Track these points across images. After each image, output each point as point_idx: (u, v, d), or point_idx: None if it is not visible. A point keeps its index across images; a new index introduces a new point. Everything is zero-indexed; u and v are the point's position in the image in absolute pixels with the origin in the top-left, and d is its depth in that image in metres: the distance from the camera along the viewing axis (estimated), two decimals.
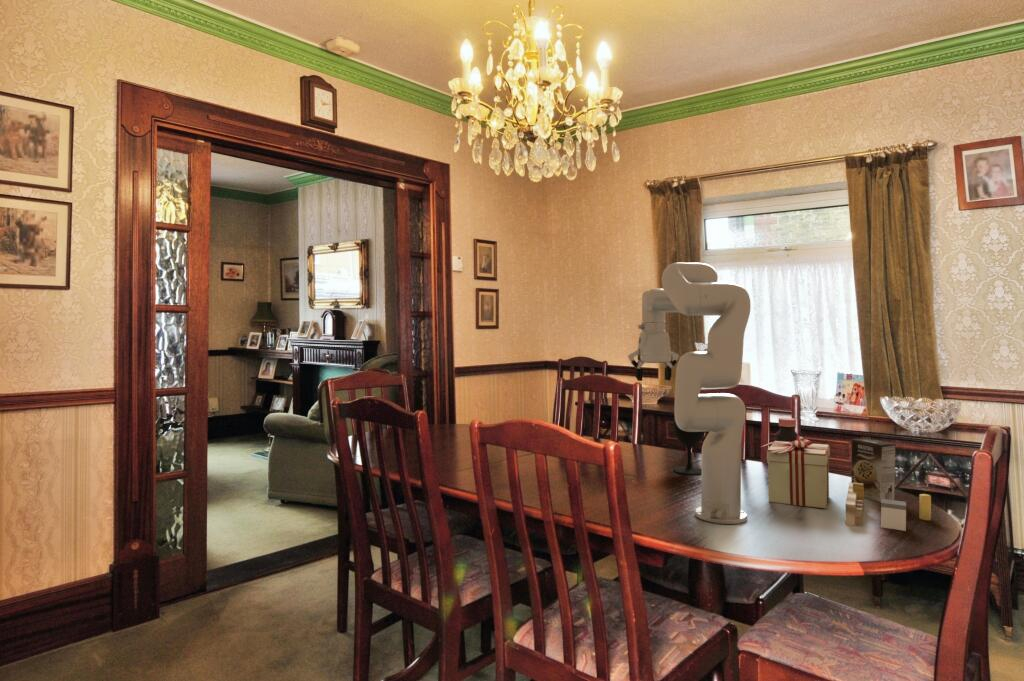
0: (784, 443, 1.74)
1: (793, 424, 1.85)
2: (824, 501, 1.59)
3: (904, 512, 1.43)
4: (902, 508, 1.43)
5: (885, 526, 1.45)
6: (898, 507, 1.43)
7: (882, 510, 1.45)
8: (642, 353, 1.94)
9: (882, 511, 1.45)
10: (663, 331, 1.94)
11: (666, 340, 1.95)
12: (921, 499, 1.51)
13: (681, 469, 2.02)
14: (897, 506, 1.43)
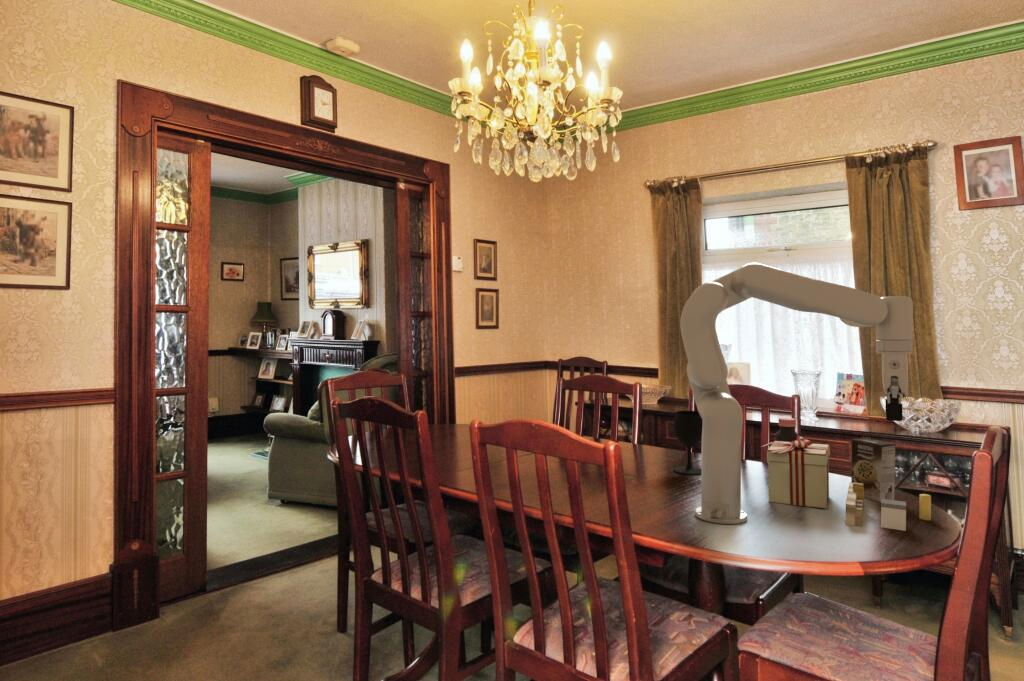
0: (784, 443, 1.74)
1: (793, 424, 1.85)
2: (824, 501, 1.59)
3: (904, 512, 1.43)
4: (902, 508, 1.43)
5: (885, 526, 1.45)
6: (898, 507, 1.43)
7: (882, 510, 1.45)
8: (906, 383, 1.40)
9: (882, 511, 1.45)
10: None
11: None
12: (921, 499, 1.51)
13: (681, 469, 2.02)
14: (897, 506, 1.43)
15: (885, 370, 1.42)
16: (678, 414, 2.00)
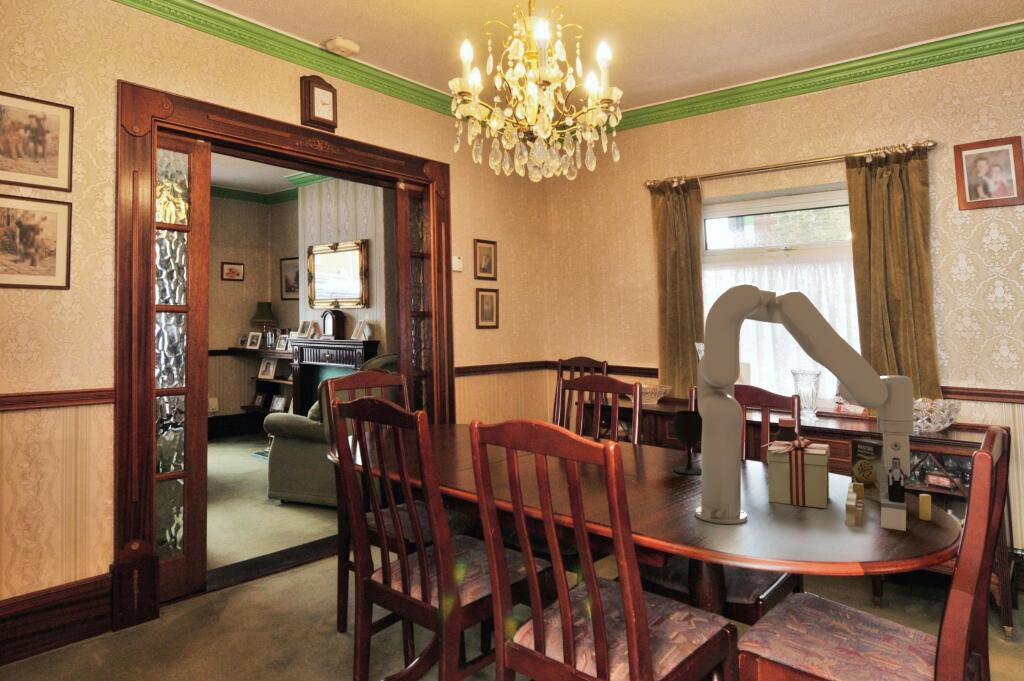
0: (784, 443, 1.74)
1: (793, 424, 1.85)
2: (824, 501, 1.59)
3: (904, 512, 1.43)
4: (902, 508, 1.43)
5: (885, 526, 1.45)
6: (898, 507, 1.43)
7: (882, 510, 1.45)
8: (908, 464, 1.40)
9: (882, 511, 1.45)
10: None
11: None
12: (921, 499, 1.51)
13: (681, 469, 2.02)
14: (897, 506, 1.43)
15: (886, 451, 1.42)
16: (678, 414, 2.00)
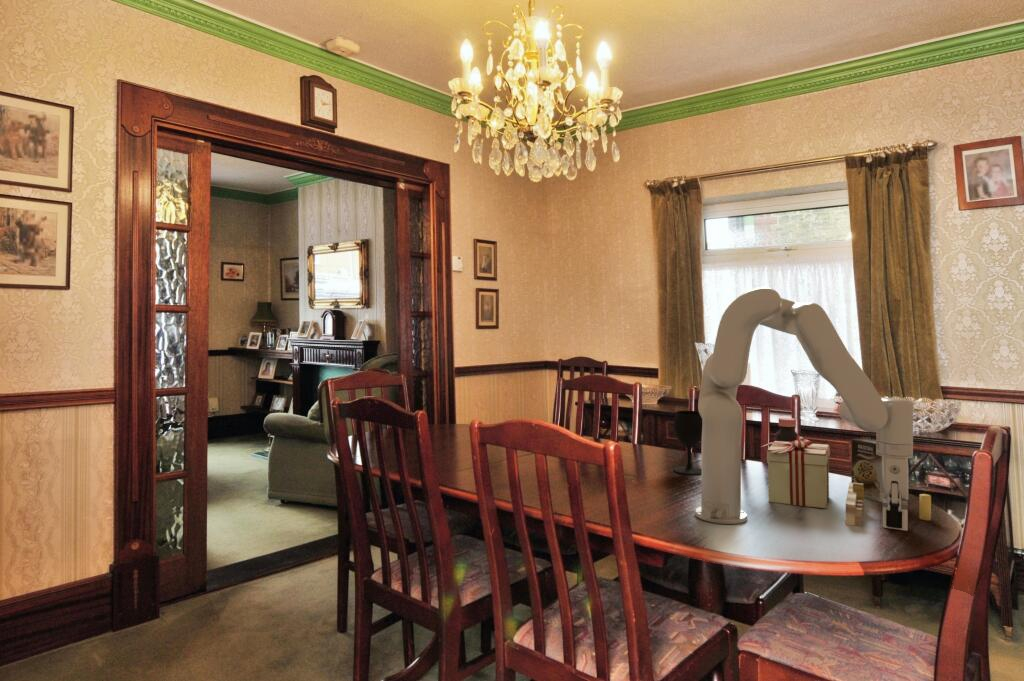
0: (784, 443, 1.74)
1: (793, 424, 1.85)
2: (824, 501, 1.59)
3: (906, 512, 1.43)
4: (904, 508, 1.43)
5: None
6: None
7: (884, 510, 1.45)
8: (906, 488, 1.40)
9: (884, 511, 1.45)
10: None
11: None
12: (921, 499, 1.51)
13: (681, 469, 2.02)
14: None
15: (885, 474, 1.42)
16: (678, 414, 2.00)
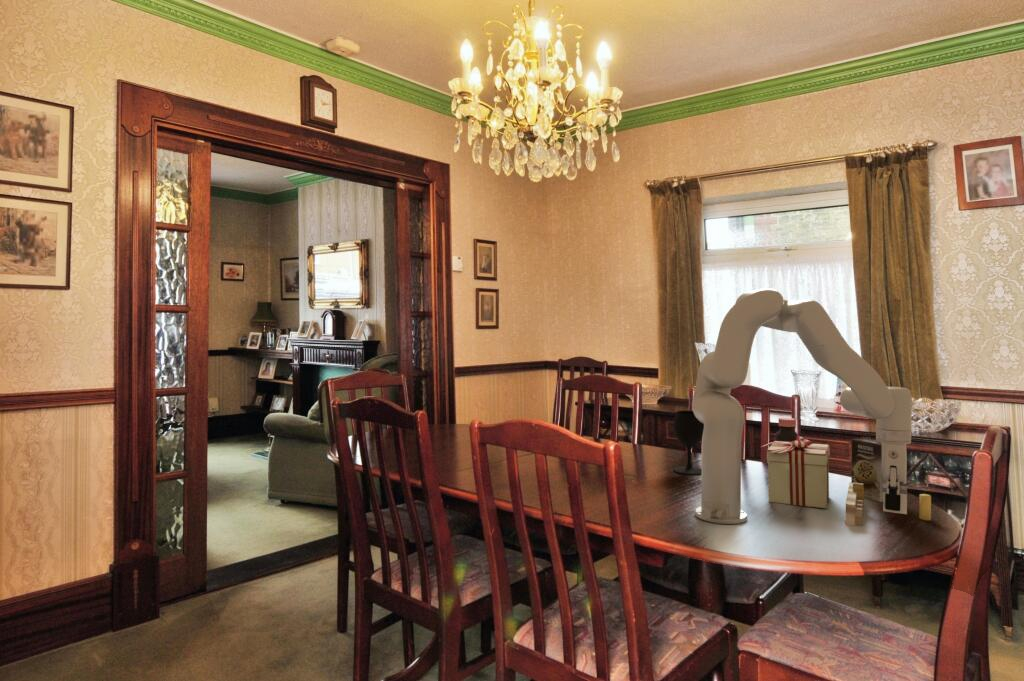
0: (784, 443, 1.74)
1: (793, 424, 1.85)
2: (824, 501, 1.59)
3: (905, 496, 1.49)
4: (903, 492, 1.49)
5: (887, 510, 1.51)
6: (899, 491, 1.50)
7: (884, 494, 1.51)
8: (904, 472, 1.47)
9: (884, 495, 1.51)
10: None
11: None
12: (921, 499, 1.51)
13: (681, 469, 2.02)
14: None
15: (884, 459, 1.49)
16: (678, 414, 2.00)
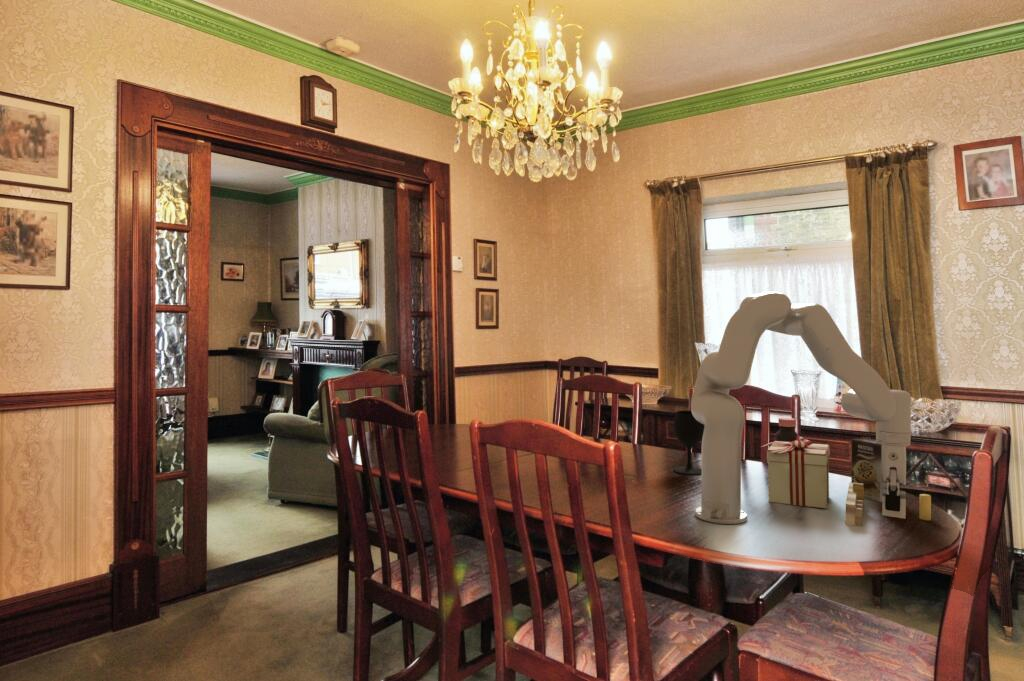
0: (784, 443, 1.74)
1: (793, 424, 1.85)
2: (824, 501, 1.59)
3: (904, 501, 1.52)
4: (902, 497, 1.52)
5: (886, 514, 1.54)
6: None
7: (883, 499, 1.54)
8: (904, 474, 1.50)
9: (883, 500, 1.54)
10: None
11: None
12: (921, 499, 1.51)
13: (681, 469, 2.02)
14: None
15: (884, 461, 1.52)
16: (678, 414, 2.00)
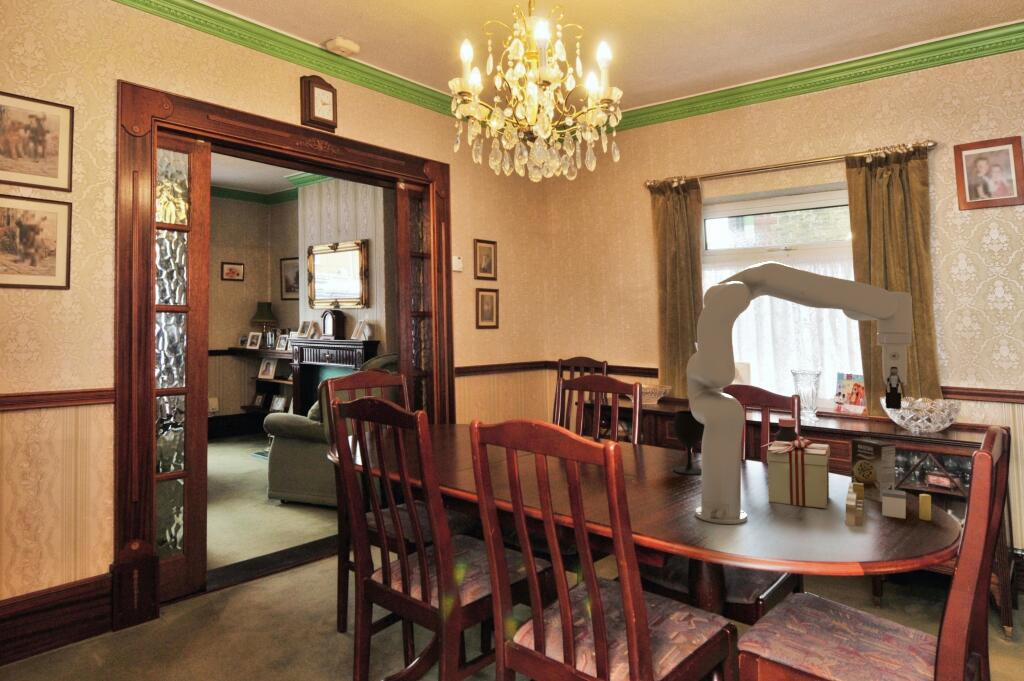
0: (784, 443, 1.74)
1: (793, 424, 1.85)
2: (824, 501, 1.59)
3: (904, 501, 1.52)
4: (902, 497, 1.52)
5: (886, 514, 1.54)
6: (898, 496, 1.52)
7: (883, 499, 1.54)
8: (905, 373, 1.49)
9: (883, 500, 1.54)
10: None
11: None
12: (921, 499, 1.51)
13: (681, 469, 2.02)
14: (897, 495, 1.53)
15: (885, 361, 1.51)
16: (678, 414, 2.00)
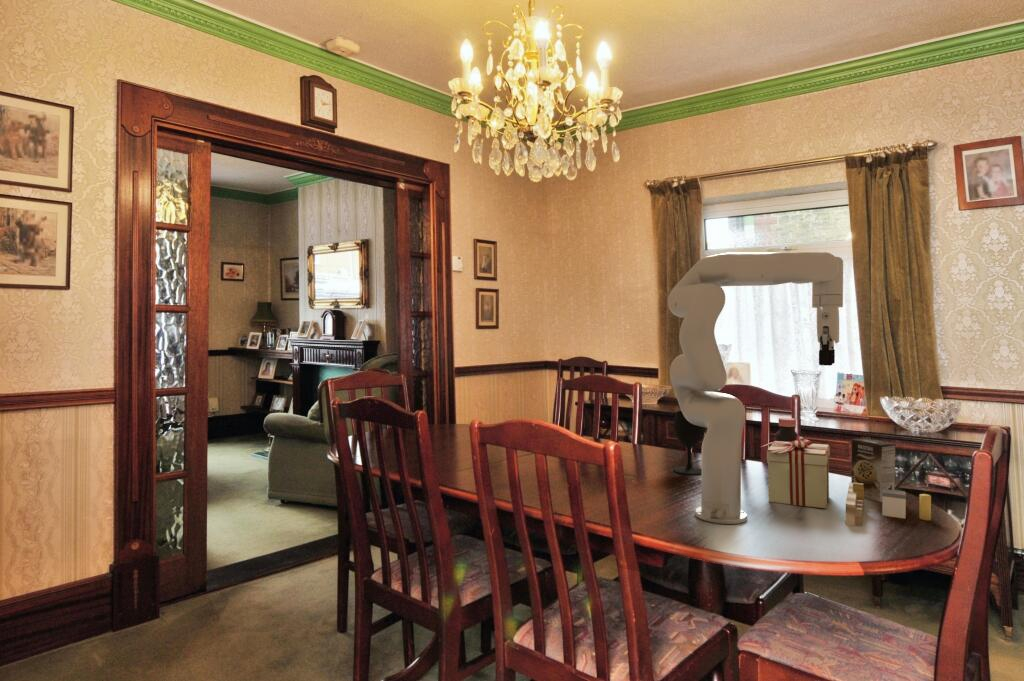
0: (784, 443, 1.74)
1: (793, 424, 1.85)
2: (824, 501, 1.59)
3: (904, 501, 1.52)
4: (902, 497, 1.52)
5: (886, 514, 1.54)
6: (898, 496, 1.53)
7: (883, 499, 1.54)
8: (835, 331, 1.59)
9: (883, 500, 1.54)
10: None
11: None
12: (921, 499, 1.51)
13: (681, 469, 2.02)
14: (897, 495, 1.53)
15: (818, 321, 1.62)
16: (678, 414, 2.00)
